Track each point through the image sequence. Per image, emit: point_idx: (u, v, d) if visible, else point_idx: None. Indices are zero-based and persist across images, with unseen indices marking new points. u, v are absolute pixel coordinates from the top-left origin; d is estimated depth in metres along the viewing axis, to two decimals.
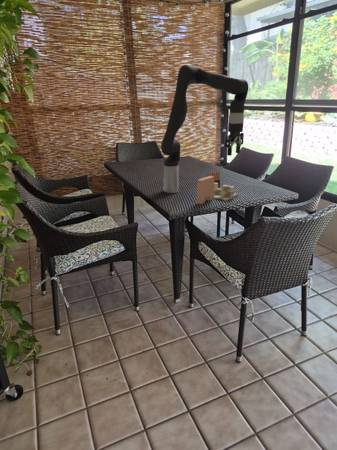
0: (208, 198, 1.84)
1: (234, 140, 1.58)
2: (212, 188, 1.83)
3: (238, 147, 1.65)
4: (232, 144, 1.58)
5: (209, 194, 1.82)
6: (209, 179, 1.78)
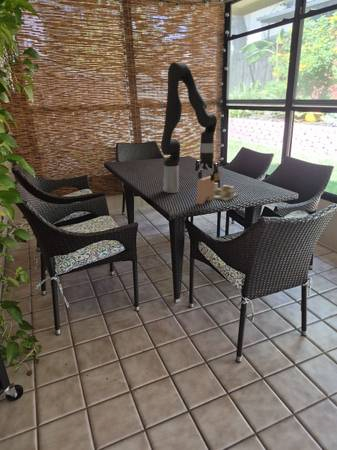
0: (208, 198, 1.84)
1: (212, 166, 1.75)
2: (212, 188, 1.83)
3: (201, 173, 1.80)
4: None
5: (209, 194, 1.82)
6: (209, 179, 1.78)
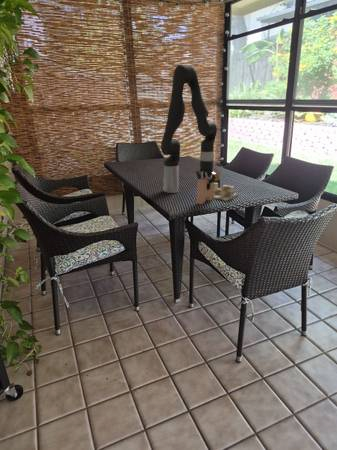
0: (208, 198, 1.84)
1: None
2: (212, 188, 1.83)
3: None
4: None
5: (209, 194, 1.82)
6: None
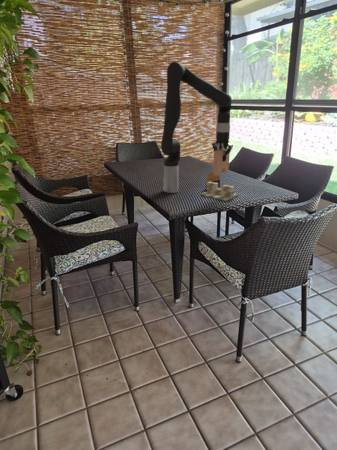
0: (223, 170, 1.89)
1: (226, 147, 1.82)
2: (227, 160, 1.88)
3: None
4: None
5: (225, 166, 1.87)
6: None
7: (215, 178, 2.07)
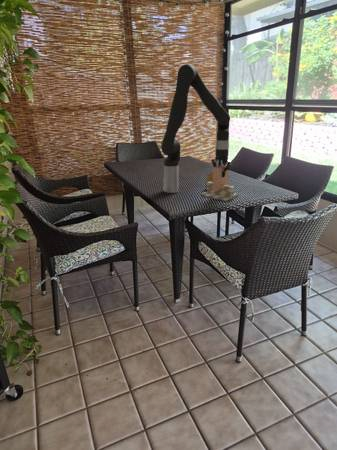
0: None
1: None
2: (227, 176, 1.91)
3: None
4: (225, 167, 1.86)
5: (224, 182, 1.91)
6: None
7: None
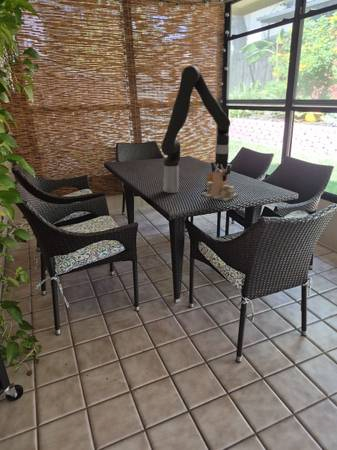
0: None
1: None
2: (226, 181, 1.93)
3: None
4: None
5: None
6: None
7: None
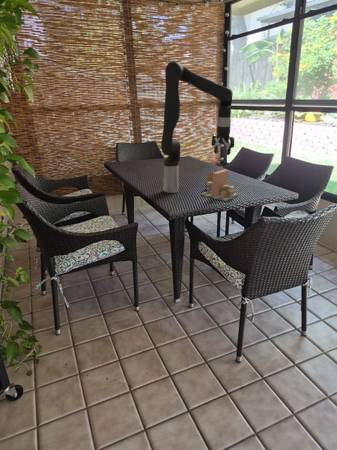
0: None
1: (228, 141, 1.80)
2: (226, 181, 1.93)
3: (217, 148, 1.85)
4: None
5: None
6: (224, 172, 1.88)
7: None
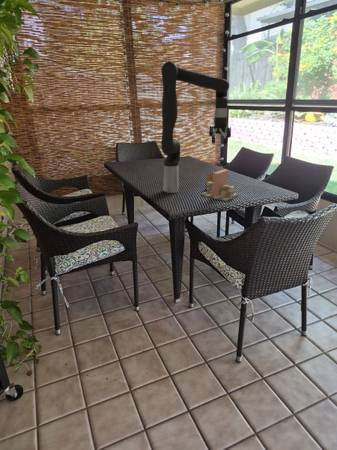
0: None
1: (225, 131, 1.87)
2: (226, 181, 1.93)
3: (214, 138, 1.93)
4: None
5: None
6: (224, 172, 1.88)
7: None
